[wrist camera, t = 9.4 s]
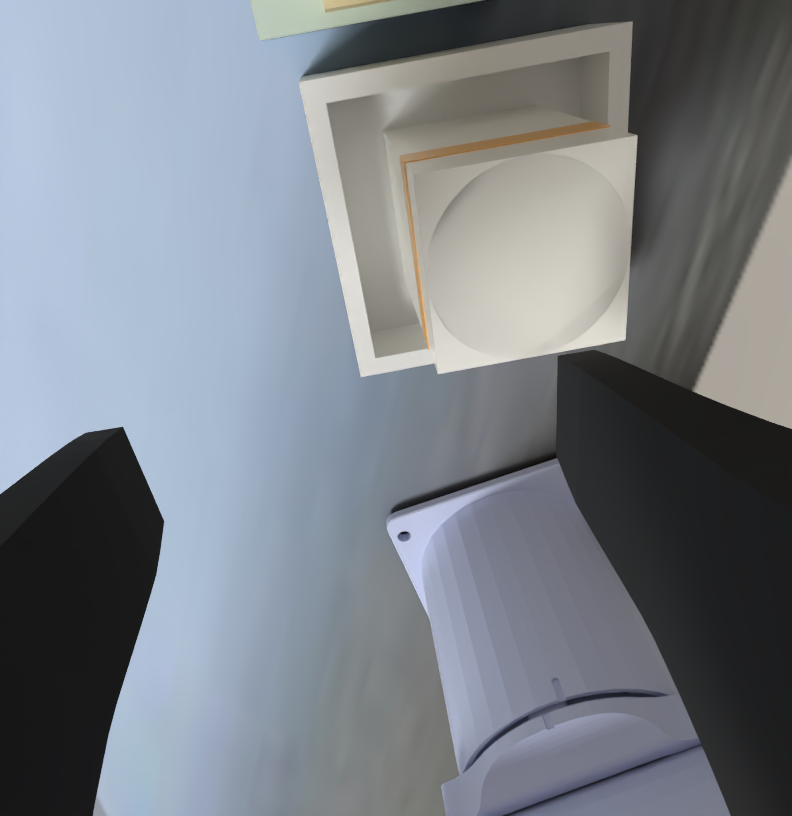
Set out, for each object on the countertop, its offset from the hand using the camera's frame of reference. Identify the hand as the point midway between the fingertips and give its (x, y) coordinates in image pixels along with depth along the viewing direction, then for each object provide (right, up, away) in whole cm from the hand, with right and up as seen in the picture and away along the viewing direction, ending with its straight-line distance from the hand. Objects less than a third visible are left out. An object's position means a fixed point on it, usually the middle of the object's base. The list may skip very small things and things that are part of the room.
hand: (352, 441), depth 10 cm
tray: (+3, +7, +7) cm, 10 cm away
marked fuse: (+3, +6, +7) cm, 10 cm away
